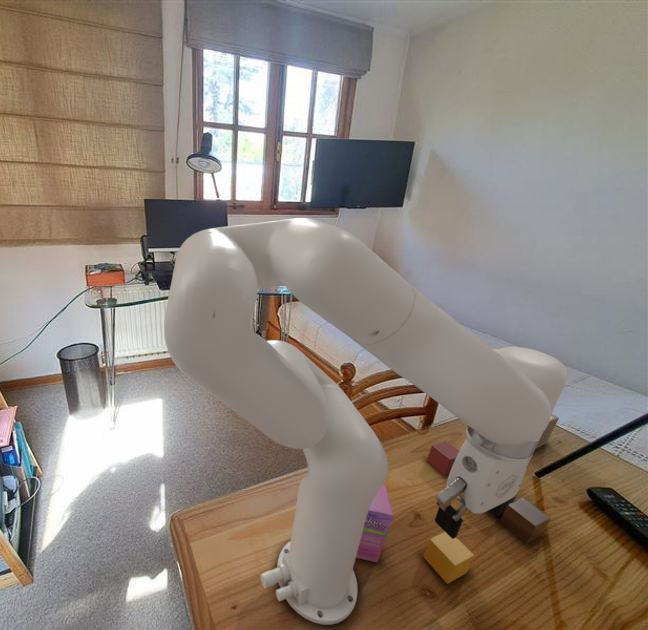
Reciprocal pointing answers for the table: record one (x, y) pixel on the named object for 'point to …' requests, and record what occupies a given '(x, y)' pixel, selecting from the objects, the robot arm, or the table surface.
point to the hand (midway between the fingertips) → (466, 518)
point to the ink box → (548, 430)
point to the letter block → (448, 557)
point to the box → (375, 527)
